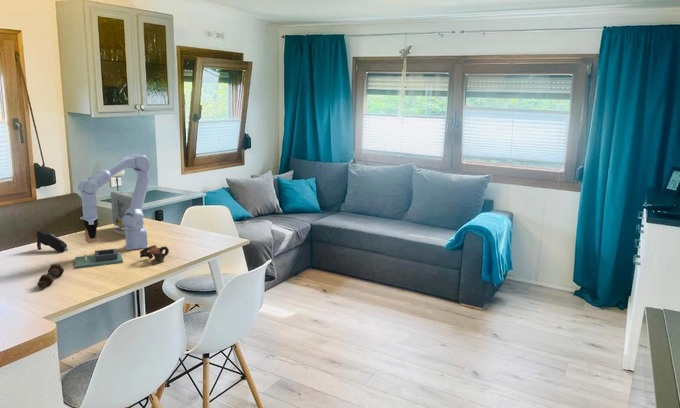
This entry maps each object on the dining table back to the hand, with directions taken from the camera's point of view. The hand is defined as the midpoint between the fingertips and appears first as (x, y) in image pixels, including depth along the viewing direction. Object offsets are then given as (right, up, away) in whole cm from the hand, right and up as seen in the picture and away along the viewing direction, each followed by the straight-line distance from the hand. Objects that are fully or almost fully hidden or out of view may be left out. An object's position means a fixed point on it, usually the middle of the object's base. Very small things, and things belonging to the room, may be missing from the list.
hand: (92, 236), depth 224 cm
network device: (-2, 0, +43) cm, 43 cm away
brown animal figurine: (+29, -11, -3) cm, 31 cm away
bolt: (-2, -16, -30) cm, 34 cm away
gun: (-23, -7, +9) cm, 25 cm away
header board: (+5, -10, -4) cm, 12 cm away
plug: (0, -2, 0) cm, 2 cm away
